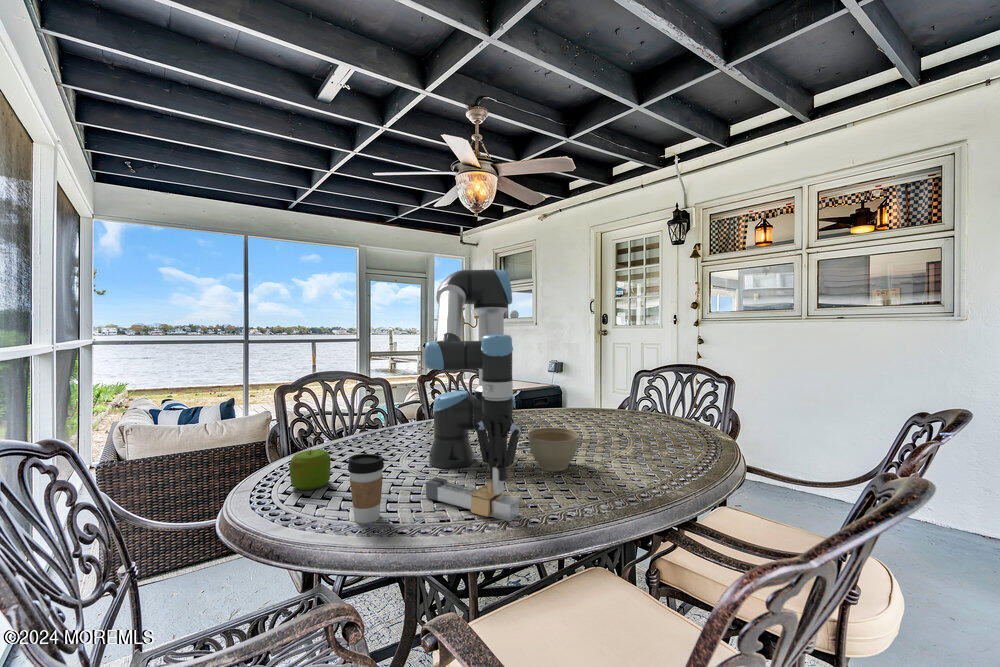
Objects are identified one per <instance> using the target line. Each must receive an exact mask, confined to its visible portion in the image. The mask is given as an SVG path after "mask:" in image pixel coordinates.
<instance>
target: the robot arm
mask: <svg viewBox="0 0 1000 667" xmlns="http://www.w3.org/2000/svg"><path fill="white" fill-rule="evenodd" d="M435 297H436V298H435V299H436V300H435V301H436V303H437V305H438V306H437V316H436V323H435V324H436V326H435V333H434V334H435V335H434V340H432V341H431V340H430V341H427V342H426V343H425V346H424V363H425V364H424V365H425V367H426V368H427V370H438V371H444V370H445V371H447V370H449V371H451V370H454V371H455V370H478V386H477V387H476V388H475V389H474V395H469V392H468V390H454V391H449V392H444V393H443V392H442V393H441V394H438V395H436V396H435V398H434V400H433V409H432V412H433V441H432V445H431V449H430V452H429V454H428V455H429V456H428V464H430V466H432V467H435V468H439V469H458V468H465V467H467V466H470V465H471V464H473V463H475V462H474V461H475V453H474V451H473V448H472V445H471V441H470V438H469V436H470V435H469V433H470V432H469V431H475V433H476V434H477V438H478V443H479V444H478V445H479V449H480V454H481V458H482V462H483V463H484V464H487V465H489V477H490V478H489V479H491V480H493V494H495V495H499V494H500V493H502V492H504V490H505V488H504V486H505V485H504V484H505V483H504V481H505V480H507V468H509V467H510V466H512V465H514V462H515V457H516V451H517V449H518V447H517V446H518V443H519V438H520V436H521V435H522V433H523V430H524V429H523V427H518V426H517V425H516V424H515V420H514V419H513V413H514V395H513V393H514V392H513V389H514V388H513V387H514V385H513V351H514V346H513V339H512V336H511V335H510V334H505V333H504V332H505V328H504V326H505V325H504V324H505V323H504V320H505V319H504V318H505V317H504V314H505V313H506V312H507V311H508V310H509V307H508V306H509V305H511V304H513V292H512V285H511V280H510V275H509V273H508V272H507V271H506V270H503V269H461V270H457V271H455V272H452V273H451V274H449V275H448V276H447V277H446V278H444V279H443V281H442V282H441V283H440V284H439V286H438V288H437V291H436V296H435ZM465 305H473V310H474V311H475V313H476V314H477V316H478V320H477V322H478V324H477V325H478V340H463V308H464V306H465ZM509 432H510V436H508V435H509ZM508 438H509V441H508Z"/></svg>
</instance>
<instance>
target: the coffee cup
mask: <svg viewBox="0 0 1000 667" xmlns="http://www.w3.org/2000/svg"><path fill="white" fill-rule="evenodd" d="M383 458H384V457H383V456H382V455H379V454H374V453H360V454H353V455H351V456H349V458H348V465H347V471H348V472H349V476H350V477H349V484H350V492H351V502H352V509H353V518H354V521H355V522H356V523H357V524H370V523H373V522H375V521H377V519H378V520H379V519H380V515H381V504H382V503H381V502H382V492H383V491H382V489H383V479H384V478H383V477H384V476H383V469H384V467H385V462H384V459H383Z"/></svg>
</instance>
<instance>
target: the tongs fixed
mask: <svg viewBox="0 0 1000 667" xmlns="http://www.w3.org/2000/svg"><path fill="white" fill-rule="evenodd" d="M471 493H472V492H469V491H465V490H461V489H457V488H453V487H449V486H444V485H442V483H441V482H437V481H433V480H432V479H430V480H427V481H425V497H426V498H427V499H430V500H435V501H437V502H441V503H446V504H449V505H453V506H457V507H461V508H464V509H468V510H471ZM519 502H520V500H519V498H516V497H512V496H508V495H504V494H503V495H500V494H499V495H496V496H494V497H493V498H491V499H490V516H489V517H492V518H495V519H499V520H502V521H506V522H511V521H513V520H514V519H516V517H518V516H520V514H519V510H520V504H519Z"/></svg>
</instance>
